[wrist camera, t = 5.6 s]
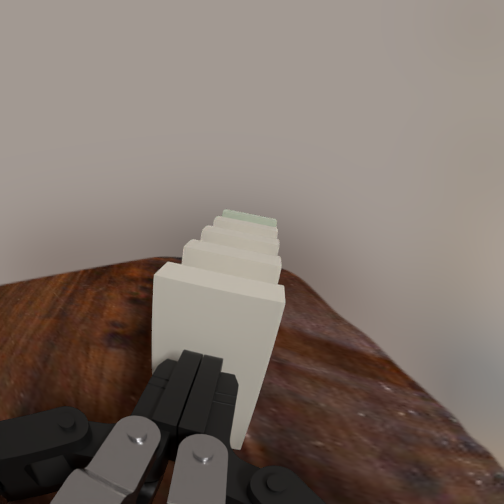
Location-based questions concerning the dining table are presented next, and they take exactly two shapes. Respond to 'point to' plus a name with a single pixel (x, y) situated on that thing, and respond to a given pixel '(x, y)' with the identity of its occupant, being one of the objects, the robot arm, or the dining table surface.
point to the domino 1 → (218, 327)
